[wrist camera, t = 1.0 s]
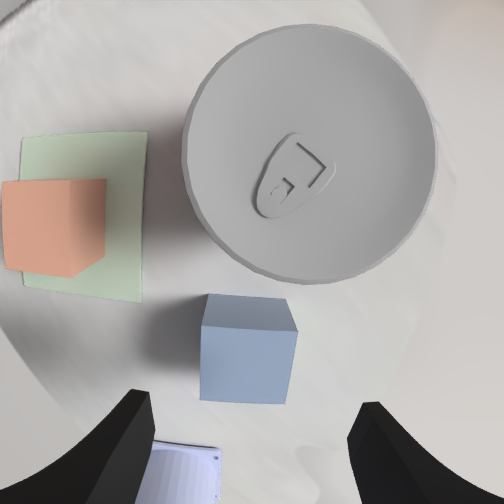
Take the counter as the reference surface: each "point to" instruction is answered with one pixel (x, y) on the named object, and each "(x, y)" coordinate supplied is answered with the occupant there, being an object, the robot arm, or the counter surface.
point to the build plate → (116, 205)
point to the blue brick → (246, 349)
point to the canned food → (309, 154)
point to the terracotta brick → (53, 225)
